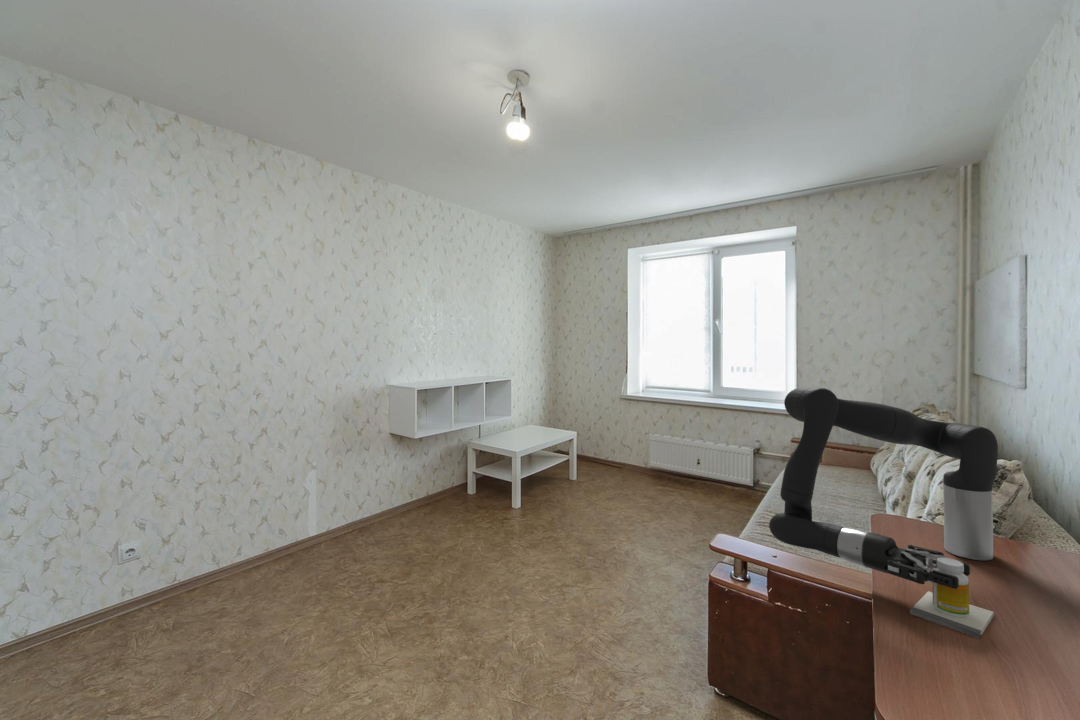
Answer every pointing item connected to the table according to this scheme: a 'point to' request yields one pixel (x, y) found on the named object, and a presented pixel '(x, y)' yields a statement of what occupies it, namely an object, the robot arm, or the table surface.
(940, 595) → the supplement bottle
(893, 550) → the robot arm
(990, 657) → the table surface
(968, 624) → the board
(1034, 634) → the table surface
